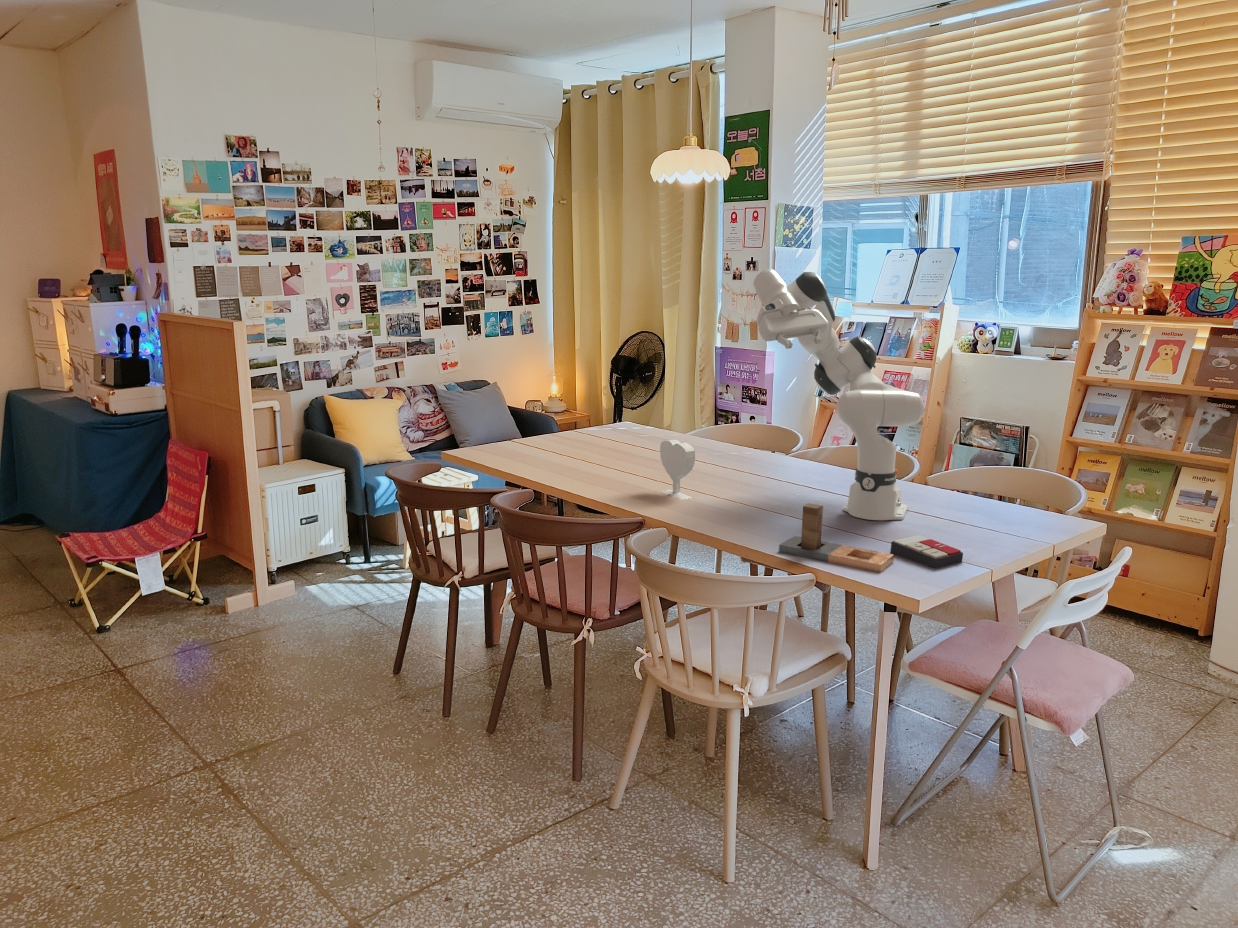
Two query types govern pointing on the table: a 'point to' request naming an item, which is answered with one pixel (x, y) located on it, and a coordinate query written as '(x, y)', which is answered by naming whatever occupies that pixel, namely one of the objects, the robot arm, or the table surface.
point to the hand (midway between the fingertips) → (804, 344)
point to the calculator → (926, 551)
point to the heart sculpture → (677, 463)
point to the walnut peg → (812, 526)
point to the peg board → (839, 554)
